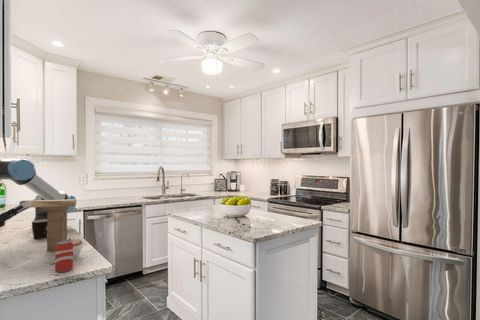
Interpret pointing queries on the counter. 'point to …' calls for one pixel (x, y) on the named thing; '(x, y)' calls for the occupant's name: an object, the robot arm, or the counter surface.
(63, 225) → the walnut stand
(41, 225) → the coffee mug
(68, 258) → the beverage can
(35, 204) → the tan wooden bar
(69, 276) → the counter surface
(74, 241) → the lidded jar
